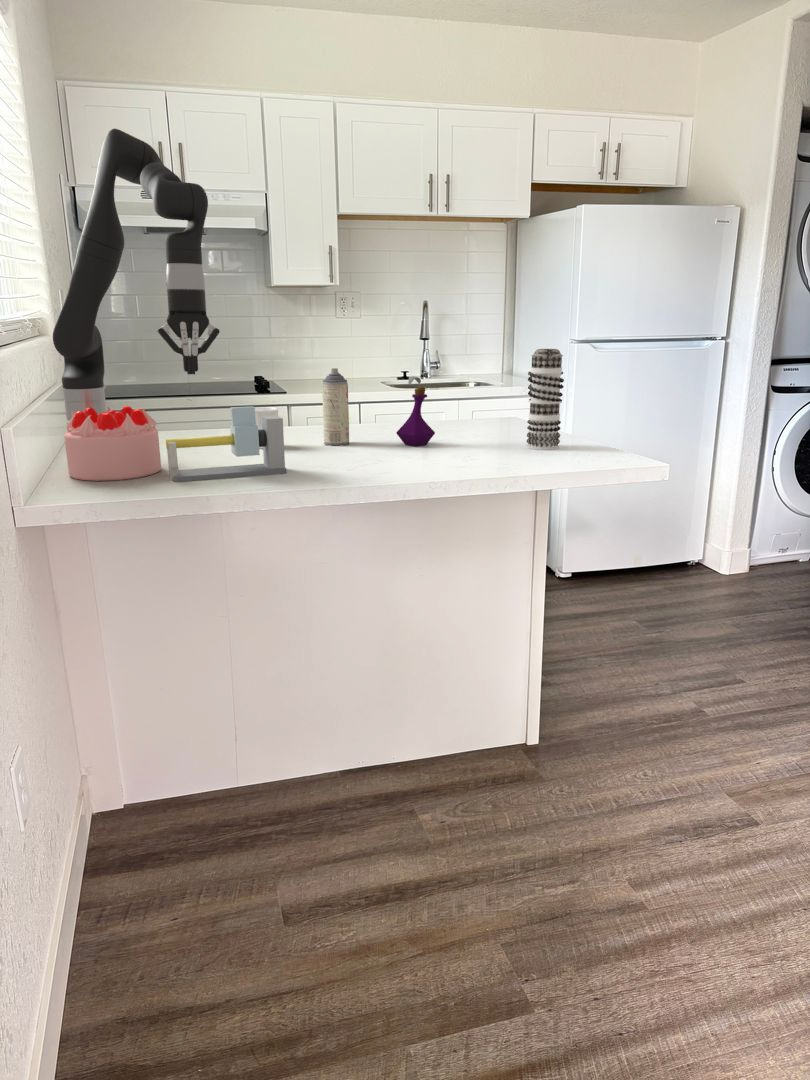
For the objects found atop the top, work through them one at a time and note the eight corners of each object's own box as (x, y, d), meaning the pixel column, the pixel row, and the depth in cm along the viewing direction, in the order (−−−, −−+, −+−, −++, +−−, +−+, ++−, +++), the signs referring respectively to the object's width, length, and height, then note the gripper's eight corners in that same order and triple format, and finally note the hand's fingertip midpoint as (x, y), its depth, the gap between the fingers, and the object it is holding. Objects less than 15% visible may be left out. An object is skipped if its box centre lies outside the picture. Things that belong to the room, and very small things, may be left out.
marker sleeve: (236, 456, 172) (233, 409, 169) (231, 452, 177) (228, 406, 175) (259, 455, 173) (256, 408, 171) (253, 450, 179) (251, 405, 176)
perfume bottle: (416, 441, 217) (416, 374, 212) (435, 444, 212) (435, 376, 207) (395, 444, 212) (395, 376, 207) (415, 448, 207) (414, 378, 202)
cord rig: (171, 482, 167) (166, 425, 164) (167, 475, 174) (162, 420, 171) (286, 473, 176) (283, 418, 173) (278, 466, 183) (275, 414, 180)
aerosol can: (353, 444, 213) (351, 368, 207) (329, 446, 210) (327, 369, 204) (343, 441, 218) (341, 367, 213) (320, 443, 215) (317, 368, 210)
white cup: (244, 448, 208) (242, 410, 205) (258, 444, 215) (256, 406, 212) (271, 450, 205) (269, 411, 203) (284, 445, 213) (282, 407, 210)
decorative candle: (523, 444, 211) (526, 348, 204) (558, 444, 211) (562, 348, 204) (526, 450, 203) (530, 350, 196) (563, 450, 202) (568, 349, 195)
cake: (59, 471, 180) (51, 408, 176) (146, 461, 191) (141, 402, 187) (82, 485, 165) (74, 417, 161) (175, 474, 176) (170, 409, 172)
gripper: (153, 286, 156) (159, 376, 161) (221, 288, 161) (225, 375, 165) (150, 287, 163) (157, 373, 168) (216, 289, 167) (220, 372, 172)
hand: (191, 374), depth 166 cm, fingers closed
